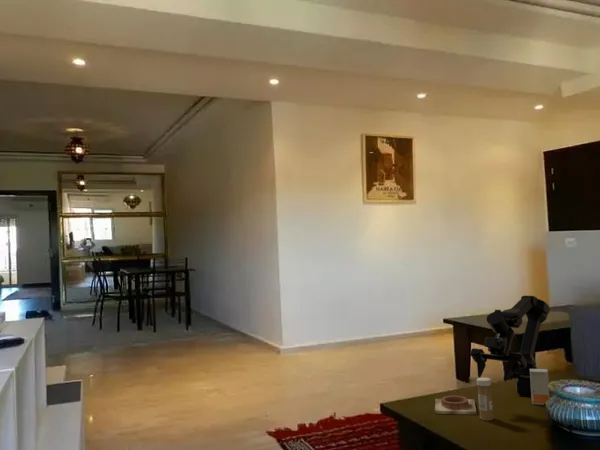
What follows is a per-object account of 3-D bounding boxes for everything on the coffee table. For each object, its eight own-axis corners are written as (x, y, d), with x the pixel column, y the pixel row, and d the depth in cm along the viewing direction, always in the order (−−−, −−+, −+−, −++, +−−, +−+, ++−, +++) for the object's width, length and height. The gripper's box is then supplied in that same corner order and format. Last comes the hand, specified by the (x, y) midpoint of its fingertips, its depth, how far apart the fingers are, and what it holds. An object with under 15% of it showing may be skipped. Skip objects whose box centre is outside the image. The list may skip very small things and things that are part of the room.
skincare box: (532, 404, 189) (529, 371, 189) (531, 401, 193) (529, 368, 193) (550, 405, 186) (548, 371, 187) (550, 402, 190) (547, 368, 191)
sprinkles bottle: (496, 419, 176) (493, 379, 176) (484, 421, 175) (481, 381, 175) (488, 415, 180) (485, 376, 181) (476, 417, 179) (473, 377, 180)
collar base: (474, 402, 196) (473, 394, 196) (476, 414, 182) (475, 405, 182) (435, 401, 199) (435, 393, 199) (435, 413, 186) (434, 405, 186)
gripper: (470, 326, 193) (457, 362, 185) (521, 329, 180) (509, 369, 171) (481, 343, 198) (469, 379, 190) (532, 348, 185) (521, 387, 177)
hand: (491, 378), depth 182 cm, fingers open, 9 cm apart
